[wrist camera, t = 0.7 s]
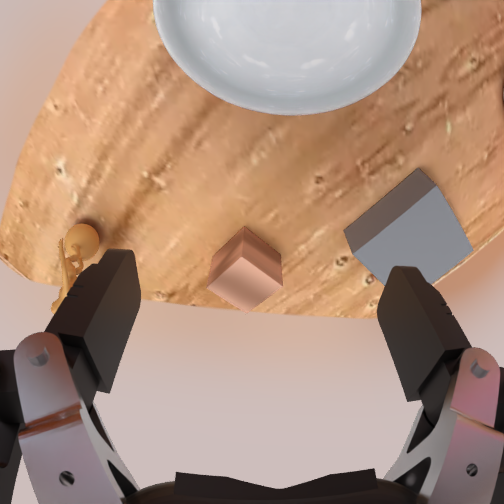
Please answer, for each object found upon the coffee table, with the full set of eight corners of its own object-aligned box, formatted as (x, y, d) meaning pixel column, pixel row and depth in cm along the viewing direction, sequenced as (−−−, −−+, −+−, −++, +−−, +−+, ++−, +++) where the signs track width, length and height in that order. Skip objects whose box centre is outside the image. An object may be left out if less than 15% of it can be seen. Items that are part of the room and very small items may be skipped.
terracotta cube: (244, 225, 31) (241, 256, 27) (280, 254, 33) (282, 286, 29) (212, 255, 33) (206, 287, 29) (248, 280, 35) (246, 313, 31)
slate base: (418, 167, 26) (436, 185, 23) (457, 229, 30) (473, 250, 27) (343, 230, 31) (352, 254, 28) (392, 280, 35) (402, 304, 32)
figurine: (68, 198, 29) (6, 268, 20) (117, 201, 30) (61, 279, 20) (81, 259, 34) (36, 334, 24) (125, 265, 34) (87, 348, 25)
